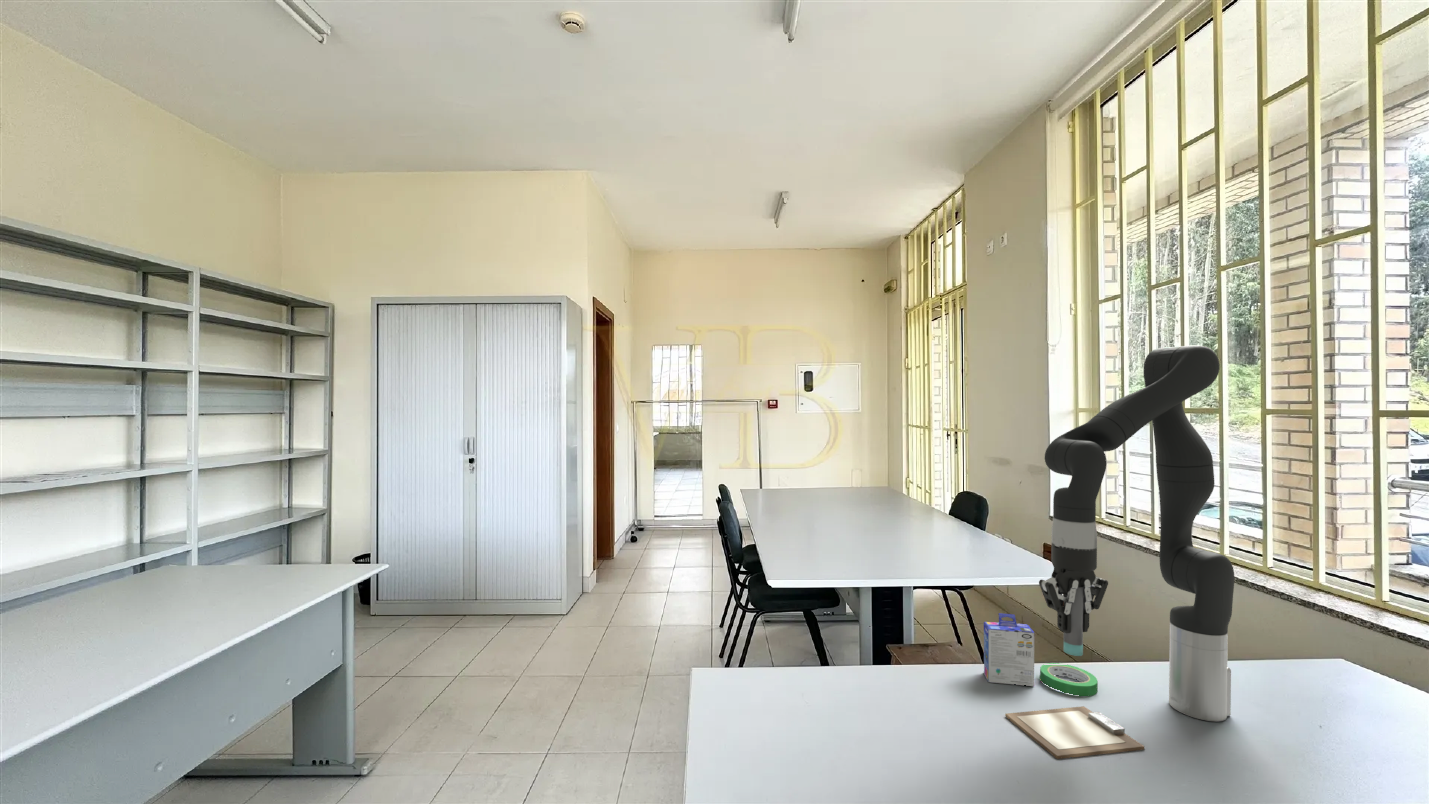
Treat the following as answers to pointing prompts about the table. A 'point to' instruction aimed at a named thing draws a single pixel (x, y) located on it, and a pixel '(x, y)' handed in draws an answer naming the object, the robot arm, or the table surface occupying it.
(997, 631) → the ink cartridge box
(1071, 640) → the marker
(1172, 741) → the table surface
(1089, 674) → the tape roll
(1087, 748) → the clipboard
